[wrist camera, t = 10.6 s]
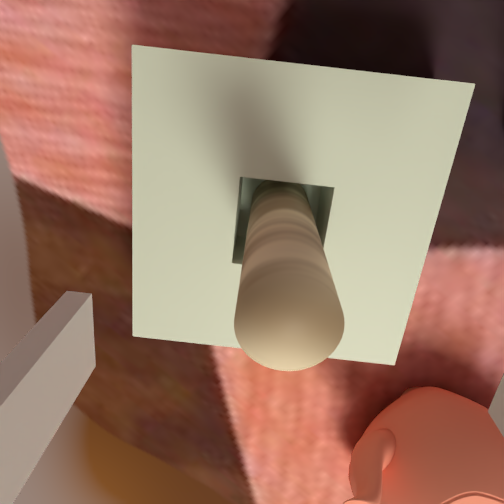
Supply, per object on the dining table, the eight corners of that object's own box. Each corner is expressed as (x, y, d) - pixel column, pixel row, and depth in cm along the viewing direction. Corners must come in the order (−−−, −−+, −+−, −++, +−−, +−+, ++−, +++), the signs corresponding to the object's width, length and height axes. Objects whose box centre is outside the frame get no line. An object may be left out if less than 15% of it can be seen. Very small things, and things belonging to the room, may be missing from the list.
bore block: (159, 50, 28) (131, 44, 22) (434, 82, 28) (475, 83, 22) (154, 294, 35) (132, 336, 29) (374, 319, 35) (394, 365, 29)
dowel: (254, 172, 29) (239, 270, 15) (312, 179, 29) (354, 283, 15) (248, 227, 31) (229, 364, 16) (303, 233, 31) (333, 376, 16)
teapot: (365, 327, 35) (410, 446, 24) (550, 425, 38) (667, 570, 27) (282, 432, 40) (286, 573, 28) (453, 512, 43) (517, 666, 32)
